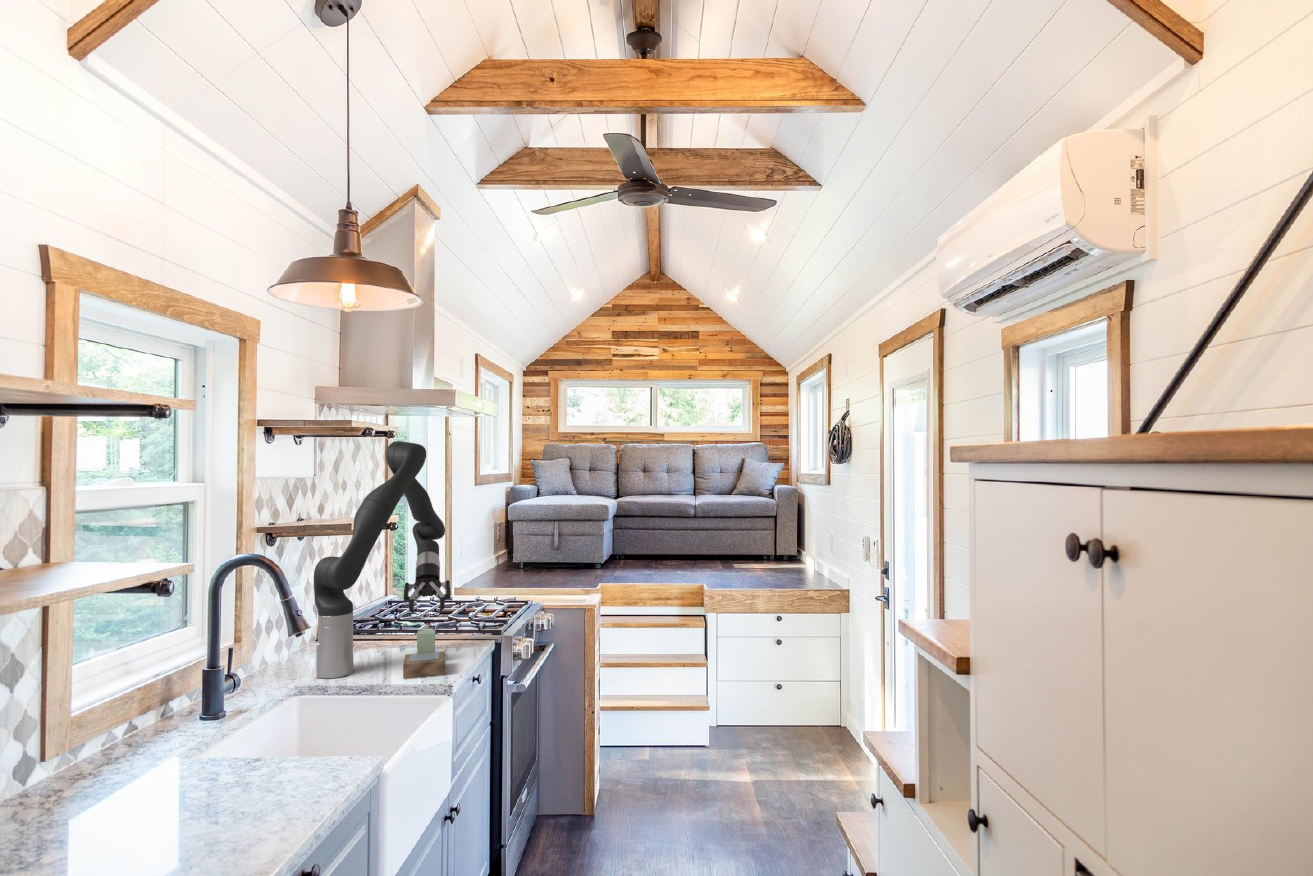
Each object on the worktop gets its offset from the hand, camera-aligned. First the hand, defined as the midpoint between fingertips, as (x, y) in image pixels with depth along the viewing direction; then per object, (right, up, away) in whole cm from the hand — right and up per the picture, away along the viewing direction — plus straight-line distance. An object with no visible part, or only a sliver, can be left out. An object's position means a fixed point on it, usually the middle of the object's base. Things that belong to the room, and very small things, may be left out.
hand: (426, 610), depth 223 cm
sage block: (+3, -13, -9) cm, 16 cm away
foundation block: (+6, -13, -19) cm, 24 cm away
